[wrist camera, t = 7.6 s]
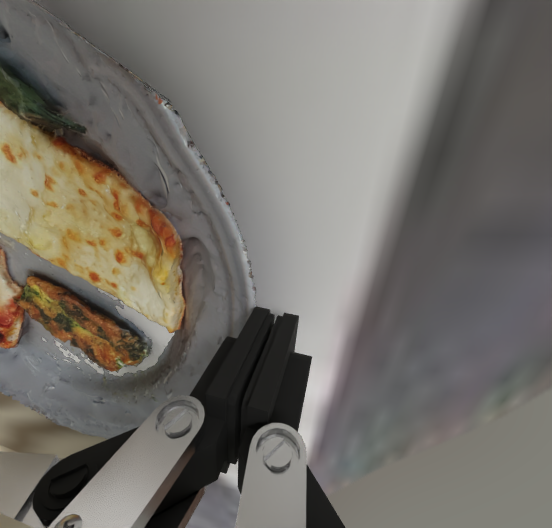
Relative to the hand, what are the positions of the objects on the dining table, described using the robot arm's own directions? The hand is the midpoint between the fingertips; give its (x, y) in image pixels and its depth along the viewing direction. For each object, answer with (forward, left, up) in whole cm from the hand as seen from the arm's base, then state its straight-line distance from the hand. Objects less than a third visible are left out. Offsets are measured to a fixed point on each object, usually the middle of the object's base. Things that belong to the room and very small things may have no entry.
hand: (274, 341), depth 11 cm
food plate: (+14, 0, -2) cm, 14 cm away
